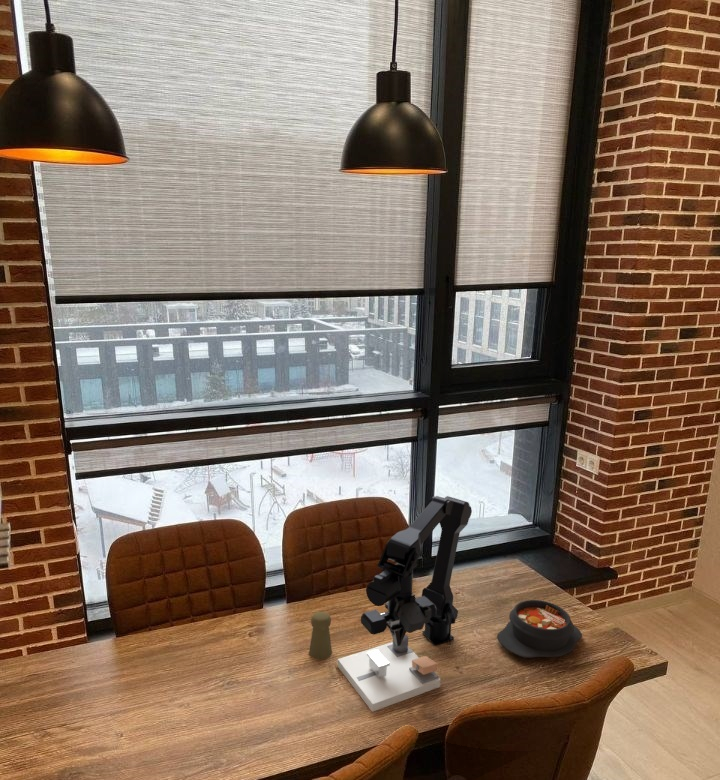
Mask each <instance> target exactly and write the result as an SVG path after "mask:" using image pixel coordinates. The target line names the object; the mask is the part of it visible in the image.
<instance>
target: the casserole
mask: <svg viewBox="0 0 720 780" xmlns="http://www.w3.org/2000/svg"><path fill="white" fill-rule="evenodd" d="M508 616H509V622H507V624H506V625H505V626H504V628H503V629H501V630H500V631H499V632H498V633H497V634H496V638H497V641H498V643H499V644H500V645H501V646H502V647H503V648H504V649H505V650H507V651H508V652H510V653H512V654H514V655H516V656H519V657H521V658H524V659H525V658H528V659H529V658H539V657H541V658H542V657H543V658H544V657H545V658H548V657H549V658H556V657H562V656H566V655H568V654H570V653H572V651H573V650H574V649H575V647H576V645H577V643H578V641H580V640H581V639H582V638H583V634H582V632H581V630H580V629H579V628H578V627H577V626H576V625H574V623H573V621H572V620H571V616H570V614H569V613H568V612H567V611H566V610H565V609H564V608H562V607H560V606H558V605H557V604H554V603H551V602H550V601H549V602H548V601H544V600H540V599H539V600H537V599H528V600H527V599H526V600H523V601H520V602H518V603H517V604H516V605H515V606H514V608H513V609H512V610H510V612H509V615H508Z"/></svg>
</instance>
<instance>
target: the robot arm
mask: <svg viewBox="0 0 720 780" xmlns="http://www.w3.org/2000/svg"><path fill="white" fill-rule="evenodd" d="M472 511H473V509H472V507H471V505H470V503H469V501H465V500H462V499H459V498H457V497H456V498H455V497H451V496H449V495H446V496H445V497H442V496H439V495H434V496H432V497H431V498H430V500H429V504H428V505H427V506H426V507H425V508H424V509H423V511H422V512H421V513H420V514H418V516H417V518H416V519H415V520H414V521H413V522H412V523H411V524H410V526H409V527H407V528H406V529H402V530H400V531H398V532H396V533H395V534H394V535H393V536H391V537H390V538H389V540H387V542H386V544H385V547H384V549H383V551H382V553H381V555H380V559H379V562H378V564H377V565H376V566H377V568H378V569H381V570H382V572H380V573H378V574H376V575H374V577H373V580H372V581H370V582H369V583H368V584H367V586H366V588H365V593H366V596H367V599H368V600H369V602H370V603H371V604H373V605H374V606H377V607H382V606H384V608H385V609H386V610H387V611H386V612H383V613H380V612H379V611H378V610H377V609H375V608H374V609H373V610H369V611H365V612H363V613H362V614H361V616H360V624H361V625H362V626H363V627H364V628H365V630H366V631H368V632H369V633H370V634H371V635H377V634H380V633H381V634H382V633H384V632H385V630H386V629H387V628H388V630H389V632H390V633H391V637H392V640H393V639H394V642H395V644H396V645H397V646H400V645H401V643H402V640H403V638H404V636H405V635H407V633H408V634H411V633H413V632H416V631H421V630H422V635H423V636H424V637H425V638H426V639H428V641H429V642H431V644H432V645H434V646H439V645H442V644H445V643H447V642H450V641H454V640H455V637H454V636H453V635H452V634H451V633H452V632H451V631H452V625H453V624H455V623H456V620H457V618H458V615H459V610H458V609H457V608H456V607H455V606H454V605H453V604H454V593H453V592H452V588H451V586H450V585H451V580H452V579H451V578H452V574H453V569H454V565H455V563H454V562H455V558H456V553H457V550H458V549H457V548H458V544H459V539H460V533H461V532H462V531H463V530H464V529H465V528H466V527H467V526H468V524H469V522H470V521H469V520H470V518H471V515H472ZM439 525H440V529H441V533H440V537H439V541H438V547H437V551H436V556H435V557H436V558H435V563H434V568H433V573H432V577H431V578H432V579H431V582H430V583H429V584H428V585H427V586H426V587H424V588H423V589H422V592H421V596H418V597H416V594H415V593H413V577H414V569H415V568H416V567H418V560H419V558H420V556H421V554H422V545H423V544H424V542H425V541H426V539H427V538H428V537H429V536H430V534H432V532H433V531H434V530H435V529H436V527H437V526H439ZM388 560H389V561H392V562H395V563H392V562H389V561H388ZM423 628H424V630H423Z"/></svg>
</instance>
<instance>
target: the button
mask: <svg viewBox="0 0 720 780" xmlns="http://www.w3.org/2000/svg"><path fill="white" fill-rule="evenodd" d="M392 642H393V650H394V651H395V652H398V653H404V652H406V651H407V650H408V647H409V636H408V635H407V634H405V636H404V638H403V640H402V643H401V645H400V646H397V645H396V644H395V642H394V639H393V638H392Z"/></svg>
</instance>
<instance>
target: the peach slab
mask: <svg viewBox="0 0 720 780" xmlns="http://www.w3.org/2000/svg"><path fill="white" fill-rule="evenodd" d="M412 667H413V668H415V669H416V670H418V671H419V672H420V673H422V674H423V675H424V674H427V673H430V672H433V671H434V672H436V671H437V670H438V663H437V662H436V661H434V660H432V659H431V658H430V657H428V656H426V655H424V656H420V657H419V658H417V659H414V660H412Z"/></svg>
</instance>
